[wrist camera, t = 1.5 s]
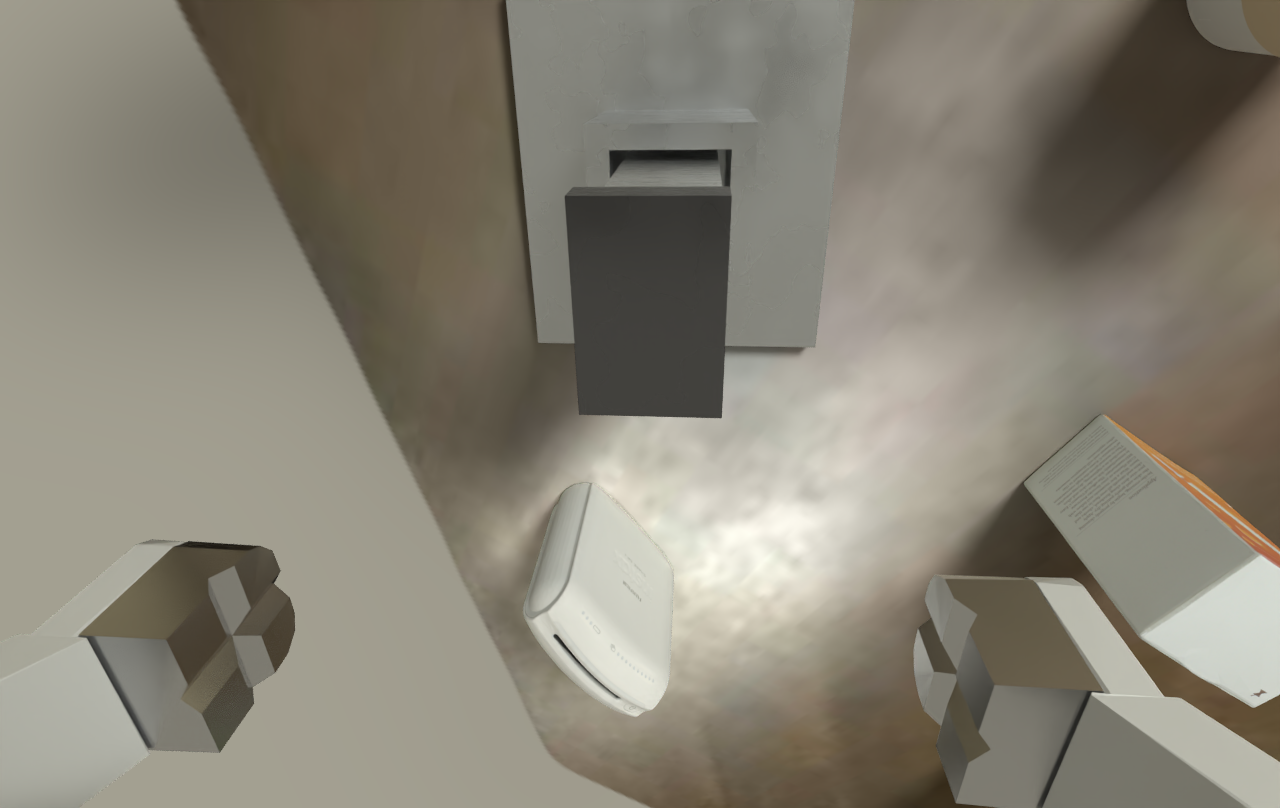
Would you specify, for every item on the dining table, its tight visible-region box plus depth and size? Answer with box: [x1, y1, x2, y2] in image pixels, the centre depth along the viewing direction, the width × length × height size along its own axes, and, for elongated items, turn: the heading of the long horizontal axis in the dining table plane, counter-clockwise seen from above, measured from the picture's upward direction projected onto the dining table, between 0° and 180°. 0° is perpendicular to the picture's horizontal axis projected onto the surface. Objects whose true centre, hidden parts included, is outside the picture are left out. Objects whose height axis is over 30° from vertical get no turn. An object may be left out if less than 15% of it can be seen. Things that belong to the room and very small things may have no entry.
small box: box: [1024, 414, 1280, 707], centre depth 36 cm, size 8×6×13 cm
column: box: [565, 149, 732, 418], centre depth 26 cm, size 6×4×19 cm, turn 1°
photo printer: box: [523, 483, 674, 717], centre depth 42 cm, size 10×4×12 cm, turn 37°
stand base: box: [506, 0, 854, 347], centre depth 29 cm, size 18×16×16 cm
